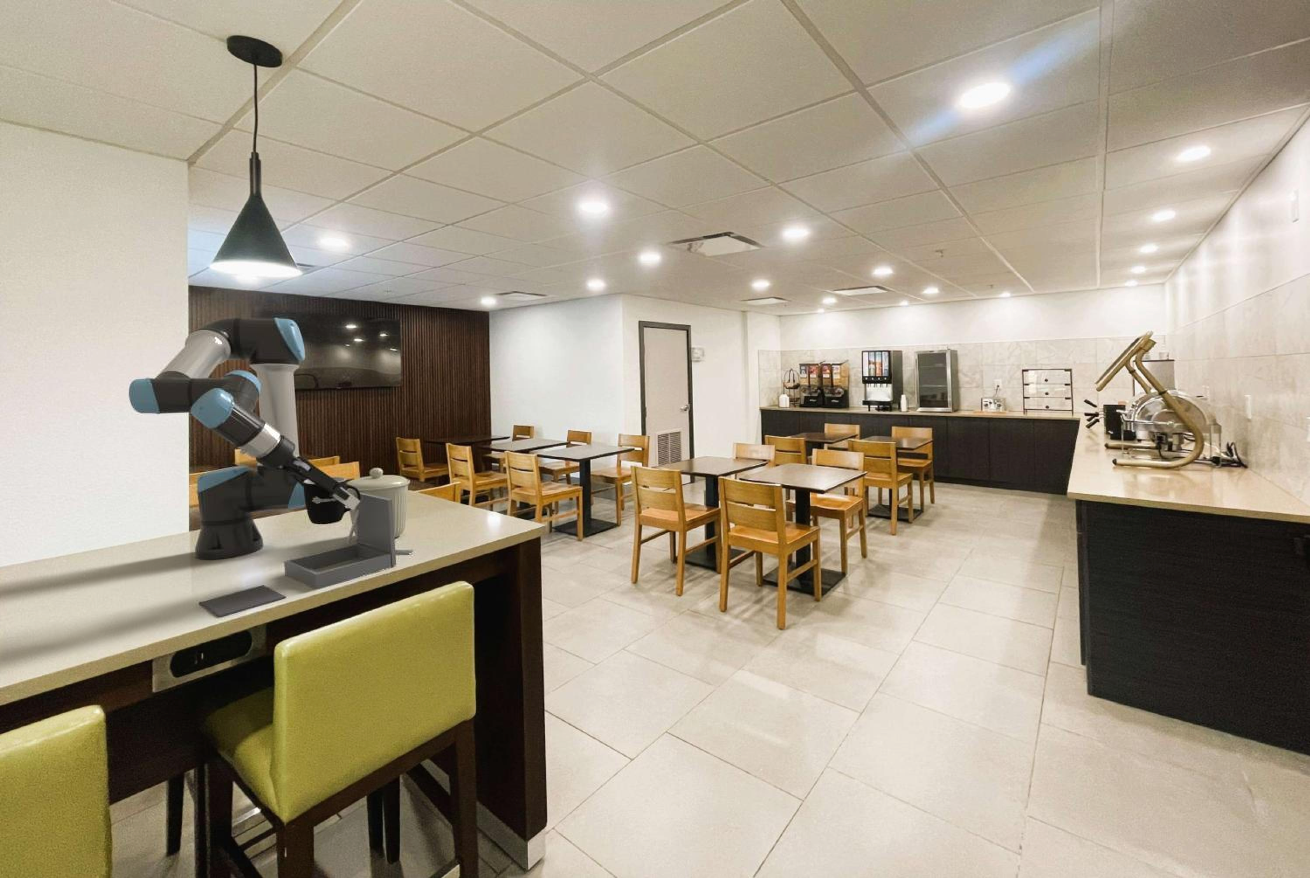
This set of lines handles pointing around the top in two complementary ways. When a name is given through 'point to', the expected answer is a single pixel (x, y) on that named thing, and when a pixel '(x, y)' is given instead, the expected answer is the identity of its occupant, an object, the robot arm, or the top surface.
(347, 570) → the case
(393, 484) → the canister
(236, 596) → the mat
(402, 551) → the rod
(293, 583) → the top surface
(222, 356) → the robot arm
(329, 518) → the mug
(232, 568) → the top surface
